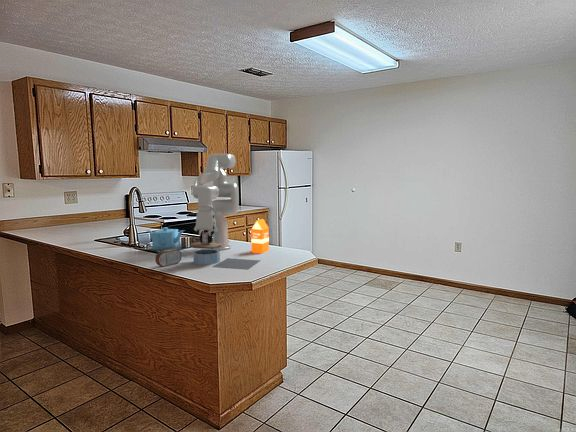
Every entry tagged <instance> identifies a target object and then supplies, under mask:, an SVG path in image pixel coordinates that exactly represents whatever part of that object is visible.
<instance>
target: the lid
mask: <svg viewBox="0 0 576 432" xmlns="http://www.w3.org/2000/svg"><path fill="white" fill-rule="evenodd" d="M208 236H209V233H208V232H203V233H202V243H200V241H197V242H193V243H190V244H189V246H190V248H192V249H197V250H203V249H211V248H217V247H220V246H222V243H220V242H214V241H213V240H212V242H211V243H208Z"/></svg>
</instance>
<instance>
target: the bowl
mask: <svg viewBox="0 0 576 432" xmlns="http://www.w3.org/2000/svg"><path fill="white" fill-rule="evenodd" d="M220 251H221V250H215V249H211V248H209V249H197V250H194V251H193V256H192V257H193V264H194V265H195V264H196V265H198V266H199V265H200V266H201V265H202V266H209V265H216V264H218V263H220V262H221V259H220V258H221V257H220V256H221V255H220V254H221V252H220Z"/></svg>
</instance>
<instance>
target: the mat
mask: <svg viewBox="0 0 576 432" xmlns="http://www.w3.org/2000/svg"><path fill="white" fill-rule="evenodd" d="M259 262H261V259H260V260H258V259H244V258H243V259H242V258H232V257H231V258H229V257H228V258H226V259H224V260H222V261H220V262H218V263H216V264H213V266H212V268H218V269H219V268H220V269H222V268H223V269H231V270H232V269H234V270H250V269H252V267H254V266H256V265H257V264H259Z"/></svg>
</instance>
